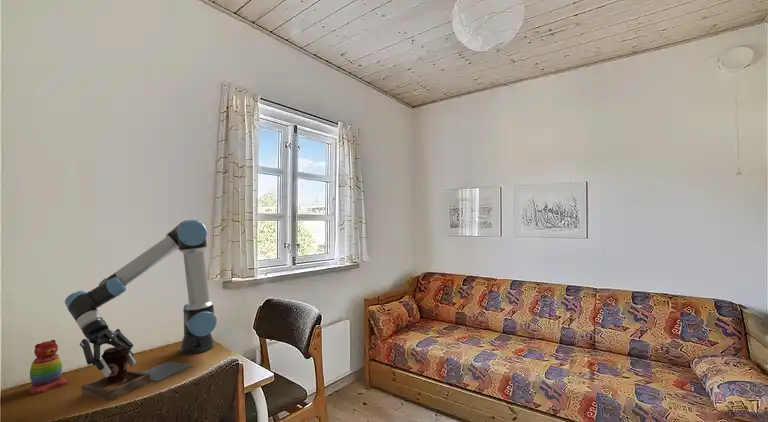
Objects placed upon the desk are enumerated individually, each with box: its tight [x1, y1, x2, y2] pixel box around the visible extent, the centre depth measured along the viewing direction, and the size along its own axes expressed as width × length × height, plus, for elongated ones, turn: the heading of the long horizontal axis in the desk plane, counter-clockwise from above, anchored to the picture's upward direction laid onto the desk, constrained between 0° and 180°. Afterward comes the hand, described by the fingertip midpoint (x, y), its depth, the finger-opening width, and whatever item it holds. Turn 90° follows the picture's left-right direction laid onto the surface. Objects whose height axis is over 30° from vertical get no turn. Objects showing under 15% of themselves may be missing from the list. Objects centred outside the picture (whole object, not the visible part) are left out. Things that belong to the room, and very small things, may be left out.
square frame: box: [80, 369, 151, 402], centre depth 139 cm, size 15×15×4 cm
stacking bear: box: [29, 339, 69, 395], centre depth 143 cm, size 11×10×18 cm
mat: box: [142, 361, 192, 383], centre depth 154 cm, size 16×14×1 cm
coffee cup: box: [101, 346, 130, 386], centre depth 139 cm, size 9×8×13 cm
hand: (121, 369), depth 138 cm, fingers closed on coffee cup, 9 cm apart
